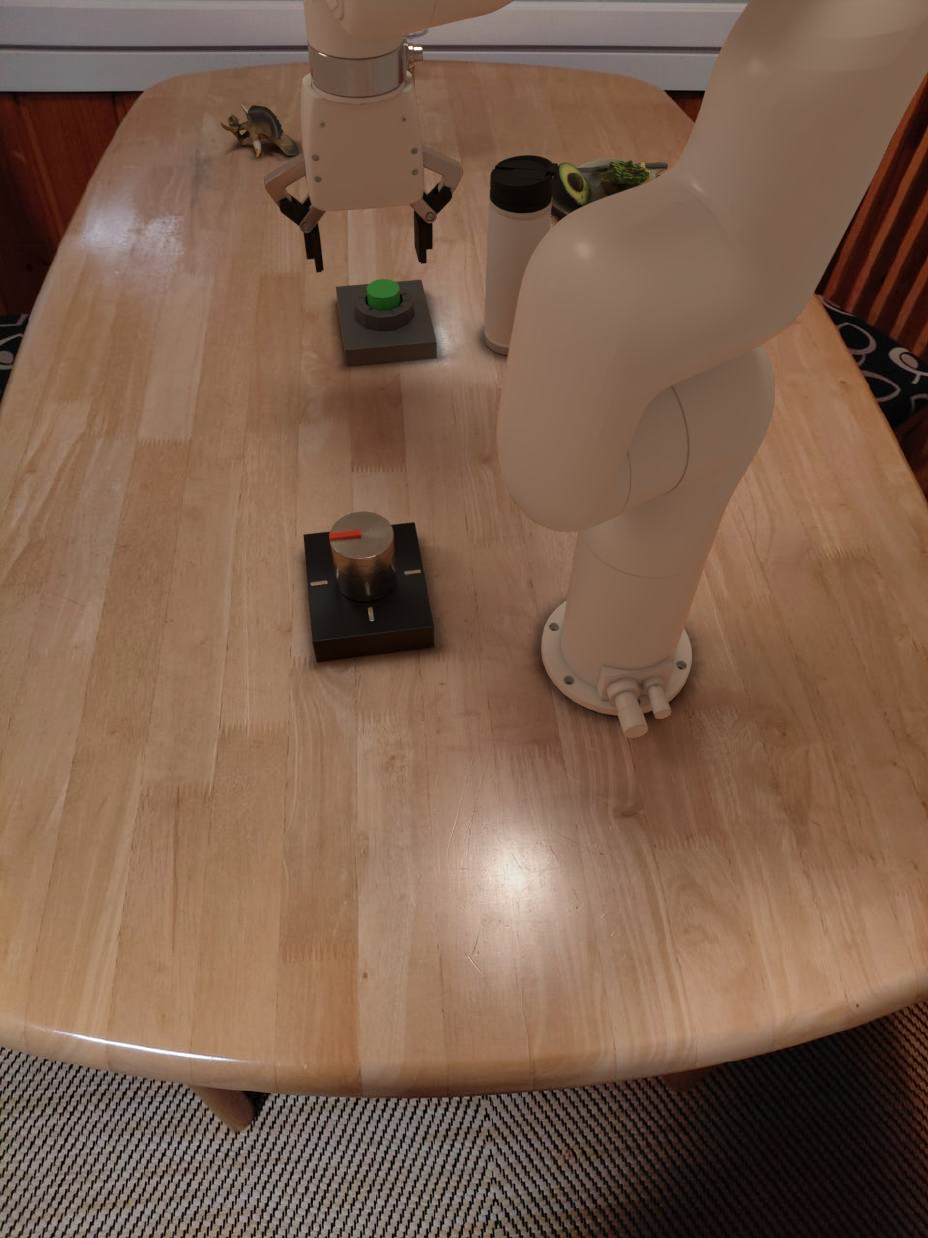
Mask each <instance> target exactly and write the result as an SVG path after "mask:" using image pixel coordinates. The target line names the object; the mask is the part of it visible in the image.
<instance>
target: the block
mask: <svg viewBox="0 0 928 1238" xmlns="http://www.w3.org/2000/svg"><path fill="white" fill-rule="evenodd" d="M395 282H396V283H397V284H398V285H399V288H400V304H399V306H398V307H396V308H394V309H391V310H383V311H380V310H376V309H372V308H371V307H370V306H369V305H368V300H367V286H368V285H369V284H370V283H362V284H351V285H340V286H339V285H338V286H335V295H336V303H337V310H338V317H339V324H340V330H341V332H340V333H341V339H342V345H343V351H344V359H345V366H346V367H352V366H353V367H354V366H365V365H375V364H387V363H398V362H407V361H408V362H409V361H417V360H418V361H420V360H430V359H437V358H438V356H437V355H438V353H437V352H438V351H437V350H438V349H437V344H438V343H437V338H436V334H435V329H434V325H433V322H432V318H431V313H430V309H429V304H428V301H427V297H426V292H425V289H424V284H423V280H422V279H412V280H401V281H400V280H399V281H398V280H397V281H395Z"/></svg>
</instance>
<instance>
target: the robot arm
mask: <svg viewBox="0 0 928 1238" xmlns="http://www.w3.org/2000/svg"><path fill="white" fill-rule="evenodd" d="M514 1H515V0H302V2H303V12H304V13H303V14H304V22H305V33H306V39H307V40H306V41H307V43H306V44H307V53H308V61H309V70H310V71H309V73H307V74H305V75H304V76H303V77H302V80H301V89H300V133H301V146H302V147H301V148H302V150H301V151H302V152H301V153H299V154H297V155H295V157H293V158H291V159H290V160H288V161H287V162H285V163H283V164H282V165H280V166H279V167H276V169H273V170H272V171H270V172H269V173H267V174H266V175H265V176H264V177H263V183H264V184H263V185H264V189H265V191H266V193H267V194H268V195H269V197H270V199H272V201H273V202H274V204H275V205H277V207H278V208H279V211H280V212H281V214H282V215H284V216H285V217H286V218H288V219H289V220H290V221H292V222H293V223H294V224H296V225H297V226H298V227H299V230H300V231H301V232H302V233H303V240H304V241H303V242H304V248H305V255H306V260H314V267H315V273H317V274H318V273H322V272H323V271H324V270H325V268H324V260H323V250H322V242H321V232H320V229H319V228H320V227H319V222H320V221H321V219H322V218H323V217H324V215H325V214H326V213H327V212H345V211H360V210H361V211H362V210H372V209H385V208H397V207H405V206H410V207H411V208H412V209H413V235H414V236H413V241H414V242H413V243H414V250H415V253H416V257H417V261H418V263H420V264H422V265H423V264H427V263H428V260H427V259H428V258H427V257H428V250H433V248H434V246H433V244H434V243H433V242H434V239H433V238H434V237H433V236H434V235H433V234H434V233H433V232H434V231H433V229H434V228H433V227H434V226H433V223H434V222H436V220H437V218H438V214H439V213H440V212H441V211H442V210H443V209H444V208H445V207H446V206H447V205H448V204H449V203H450V202H451V201H452V199H453V193H454V192H455V191H456V189H457V188H458V186H459V184H460V182H461V180H462V178H463V177H464V169H463V167H462V163H461V162H460V161H459V160H456V159H454V158H451V157H449V156H447V155H445V154H443V153H440V152H438V151H437V150H434V149H432V148H430V147H427V146H425V145H423V141H422V129H421V123H420V122H421V121H420V115H419V108H418V99H417V92H416V86H415V87H414V82H413V78H412V75H411V73H410V72H409V66H414V64H415V65H418V64H419V65H421V64H423V62H424V51H423V44H422V43H419V44H418V43H417V44H413V42H408V40H407V38H405V35H409V34H413V33H417V32H423V30H427V29H432V28H435V27H439V26H444V25H447V24H452V23H456V22H460V21H464V20H465V21H466V20H469V19H470V20H471V19H474V18H478V17H482V16H486V15H489V14H492V13H494V12H497V11H499V10H501V9H503V8H505V7H507V6H508V5H510V4H511V3H512V2H514ZM715 59H716V60H715V61H714V63H713V66H712V68H711V71H710V74H709V77H708V80H707V83H706V87H705V91H704V94H703V97H702V101H701V105H700V108H699V111H698V113H697V116H696V118H695V121H694V124H693V127H692V130H691V132H690V135H689V137H688V140H687V142H686V144H685V147H684V149H683V150H682V152H681V153H680V156H679V157H678V159H677V160H676V161H675V163H674V164H673V165H672V166H671V167H669V169H666V170H665V171H663V173H662V174H659V176H656V177H657V178H655V179H653V180H652V181H650V182H648V183H645V184H643V185H640V186H637V187H634V188H631V189H628V190H625V191H622V192H619V193H616V194H614V195H611V196H608V197H605V198H602V199H600V200H597V201H594V202H592V203H590V204H587V205H585V206H583V207H581V208H579V209H577V210H575V211H573V212H571V213H570V214H568V215H567V216H565V217H564V218H563V219H561V220H560V219H559V220H558V221H557V222H556V223H555V224H554V225H553V226H552V227H551V228H549V231H548V232H547V234H546V235H545V236H544V237H543V239H542V240H541V241H540V243H539V244H538V246H537V247H536V249H535V251H534V252H533V254H532V255H531V258H530V260H529V262H528V264H527V266H526V269H525V273H524V276H523V279H522V284H521V288H520V292H519V297H518V302H517V307H516V313H515V318H514V324H513V330H512V335H511V341H510V346H509V352H508V355H507V358H506V363H505V370H504V374H503V380H502V386H501V391H500V392H501V393H500V396H499V397H500V398H499V402H498V403H499V404H498V411H497V419H496V450H497V458H498V464H499V468H500V472H501V476H502V479H503V481H504V484H505V487H506V489H507V491H508V493H509V495H510V497H511V499H512V501H513V502H514V504H515V505H516V507H518V509H519V510H520V511H521V512H522V513H523V514H524V515H525V516H526V517H527V518H528V519H529V520H531V521H532V522H533V523H536V524H537V525H538V526H541V527H543V528H545V529H548V530H551V531H555V532H562V533H573V532H577V533H576V541H575V547H574V553H573V558H572V564H571V572H570V577H569V583H568V589H567V596H566V600H564V601H562V603H560V604H559V605H558V606H557V607H555V609H554V610H553V611H552V612H551V614H550V615H549V617H548V618H547V620H546V623H545V624H544V625H543V631H542V635H541V641H540V642H541V644H540V653H541V661H542V663H543V666H544V669H545V672H546V674H547V675H548V677H549V678H550V680H551V682H552V683H553V685H554V686H555V687H556V688H557V689H558V690H559V691H560V692H561V693H562V694H563V695H564V696H566V697H567V698H569V700H571V701H572V702H574V703H575V704H578V705H579V706H582V707H584V708H586V709H587V710H591V711H593V712H597V713H600V714H604V715H609V716H617V717H618V721H619V724H620V727H621V730H622V734H623V736H624V737H625V738H627V739H636V738H639V737H642V736H645V734H647V733H648V732H649V727H648V722H647V720H646V718H645V715H644V714H648V713H650V712H652V714H653V717H654V718H655V719H657V720H663V719H666V718H668V717H669V716H671V715H672V709H671V706H670V704H669V703H670V702H671V701H672V700H673V699H674V698H675V697H677V696H678V695H679V693H680V692H681V691H682V689H683V687H684V686H685V684H686V683H687V680H688V678H689V675H690V673H691V668H692V664H693V648H692V644H691V640H690V637H689V634H688V633H687V631H686V629H685V625H686V623H687V620H688V617H689V614H690V611H691V608H692V605H693V603H694V599H695V596H696V593H697V590H698V587H699V584H700V581H701V578H702V575H703V572H704V569H705V566H706V563H707V561H708V557H709V554H710V552H711V551H712V548H713V545H714V542H715V540H716V536H717V534H718V530H719V528H720V524H721V522H722V519H723V516H724V514H725V511H726V509H727V507H728V505H729V503H730V501H731V499H732V496H733V494H734V493H735V491H736V489H737V487H738V485H739V484H740V482H741V480H742V479H743V477H744V475H745V474H746V472H747V471H748V469H749V467H750V465H751V464H752V462H753V460H754V459H755V457H756V455H757V453H758V452H759V450H760V448H761V446H762V444H763V442H764V440H765V437H766V436H767V433H768V430H769V427H770V424H771V422H772V421H771V420H772V417H773V412H774V408H775V400H776V383H775V375H774V370H773V367H772V362H771V360H770V357H769V355H768V353H767V351H766V349H765V348H764V346H763V345H765V344H767V343H769V342H770V341H772V340H774V339H775V338H777V337H778V336H780V335H782V334H783V333H784V332H785V331H786V330H787V329H789V328H790V327H791V326H792V325H793V324H794V323H795V322H796V321H797V319H798V318H799V317H800V316H801V314H802V313H803V311H804V309H805V308H806V307H807V305H808V304H809V302H810V301H811V298H812V297H813V295H814V293H815V291H816V289H817V287H818V286H819V284H820V282H821V280H822V277H824V274H825V272H826V270H827V268H828V266H829V264H830V262H831V260H832V259H833V257H834V255H835V253H836V251H837V250H838V249H837V248H838V247H839V245H840V243H841V241H842V239H843V237H844V235H845V233H846V231H847V229H848V227H849V225H850V224H851V221H852V220H853V218H854V216H855V213H856V212H857V210H858V208H859V206H860V204H861V202H862V200H863V198H864V197H865V195H866V193H867V191H868V189H869V187H870V185H871V183H872V181H873V179H874V177H875V175H876V174H877V171H878V170H879V167H880V166H881V163H882V160H883V158H884V156H885V154H886V152H887V149H888V147H889V145H890V144H891V140H892V139H893V137H894V135H895V133H896V130H897V129H898V127H899V125H900V123H901V122H902V119H903V117H904V115H905V113H906V111H907V109H908V108H909V105H910V104H911V102H912V100H913V99H914V97H915V95H916V93H917V91H918V90H919V88H920V87H921V85H922V82H923V81H924V79H925V77H926V75H927V74H928V0H749V1H748V3H746V6H745V7H744V9H743V11H742V12H741V14H740V15H739V16H738V18H737V19H736V21H735V23H734V24H733V25H732V27H731V29H730V31H729V32H728V34H727V36H726V39H725V40H724V42H723V44H722V46H721V48H720V51H719V53H718V55H717V57H716V58H715ZM424 169H427V170H429V171H431V172H434V173H436V174H439V175H441V178H440V181H439V182H437V183H436V184H435V186H433V188H431V189H430V191H429V192H427V191H426V190H425V173H424ZM304 177H305V182H306V188H307V194H306V195H305V197H304V198H303V200H302V201H300V200H298V199H297V198H295V196H293V195H292V194H291V193H289V192H288V191H287V188H288V187H289V186H292V184H294V183H296V182H297V181H299V180H301V179H302V178H304Z"/></svg>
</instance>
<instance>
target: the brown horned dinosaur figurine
mask: <svg viewBox="0 0 928 1238" xmlns="http://www.w3.org/2000/svg"><path fill="white" fill-rule="evenodd" d="M239 106H240V107H241V109H242V110H243V112H244V113H245V116H246V121H243V122H241V123H240V119H239V118H238V117H237V116H236V114H234V113H231V114H230V115H231V116H229V117H227V122H228V125H227V124H225V123H224V122H219V125H220V126H221V127H222V129H223V130H225V131H228V132H230V133H232V135H233V136H234V137H235V138H236V140H237V143H238V145H239V146H241V145H243V142H244V141H245V140H246V139H247V138H248V139H250V141H251V143H252V145H253V147H254V151H255V153H256V156H255V157H256V158H259V157H260V154H261V153H262V142H261V141H262V140H267V141H270V142H272V143H273V144H274V145H276V146H277V147H278V148H279V149H280V151H282V152H283V153H284V154H285V155H286V156H292V157H293V156H298V154H300V148H299V146H298V144H297V143H296V142H295V140H293V139H292V138H291V137H290V136H289V135H288V134H286V133H285V132H284V129H283V128H282V127H283V126H282V124H281V122H280V120H279V119H278V116H277V115H276V114H275V113H274V112H273V111H272V110H271V109H270V108H269V107H267V106H263V105H255V104H252V105H251V106H250V107H249V109H247V108H246V106H245V105H243V104H242V103H239ZM241 131H245V132H243V133H242V134H241Z"/></svg>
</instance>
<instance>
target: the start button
mask: <svg viewBox="0 0 928 1238" xmlns="http://www.w3.org/2000/svg"><path fill="white" fill-rule="evenodd" d="M396 282H397V281H395V280H392V279H388V278H379V279H375V280H372V281H371V282H370V283H368V284H369V285H368V286H367V300H368V305H369V306H370V307H371V308H372V309H376V310H380V311H383V310H391V309H394V308H396V307H398V306H399V304H400V288H399V285H398V284H397V283H396Z"/></svg>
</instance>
